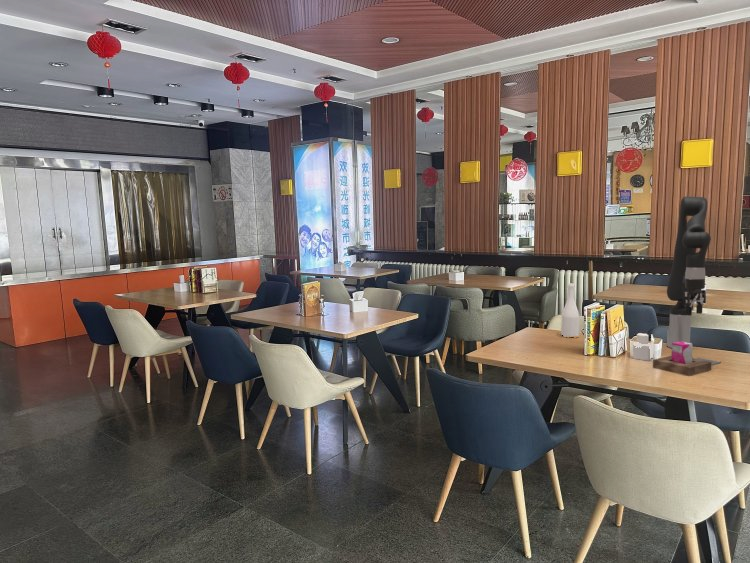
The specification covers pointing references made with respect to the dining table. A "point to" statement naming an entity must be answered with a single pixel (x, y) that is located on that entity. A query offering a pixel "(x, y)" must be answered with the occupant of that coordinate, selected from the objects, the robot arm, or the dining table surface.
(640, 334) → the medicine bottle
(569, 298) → the wine bottle
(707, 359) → the mat
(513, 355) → the dining table surface
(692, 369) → the frame
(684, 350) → the supplement box
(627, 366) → the dining table surface
